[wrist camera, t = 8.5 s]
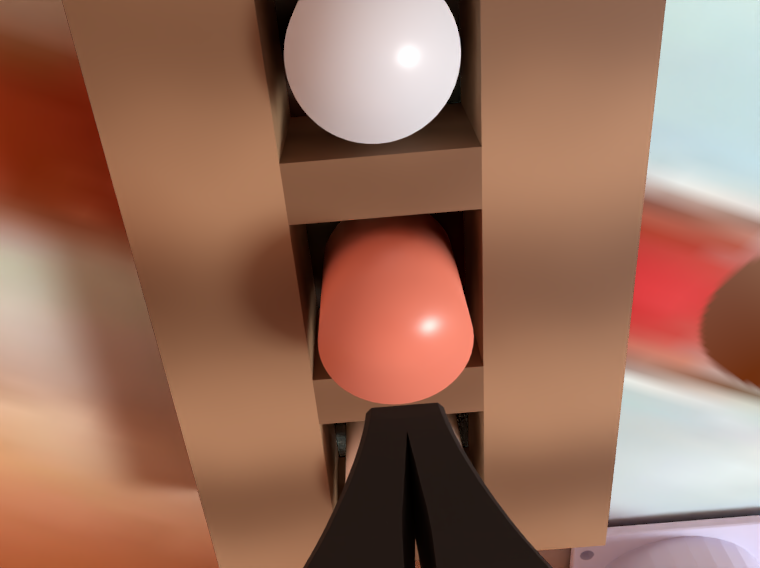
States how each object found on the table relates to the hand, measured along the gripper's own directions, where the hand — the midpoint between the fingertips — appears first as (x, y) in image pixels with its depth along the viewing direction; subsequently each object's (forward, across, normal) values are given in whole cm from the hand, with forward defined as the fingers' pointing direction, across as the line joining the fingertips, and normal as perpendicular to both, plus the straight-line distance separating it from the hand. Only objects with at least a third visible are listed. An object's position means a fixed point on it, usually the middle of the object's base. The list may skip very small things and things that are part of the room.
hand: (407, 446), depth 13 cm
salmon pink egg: (+7, 0, 0) cm, 7 cm away
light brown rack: (+9, 0, 0) cm, 9 cm away
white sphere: (+8, 0, -6) cm, 10 cm away
